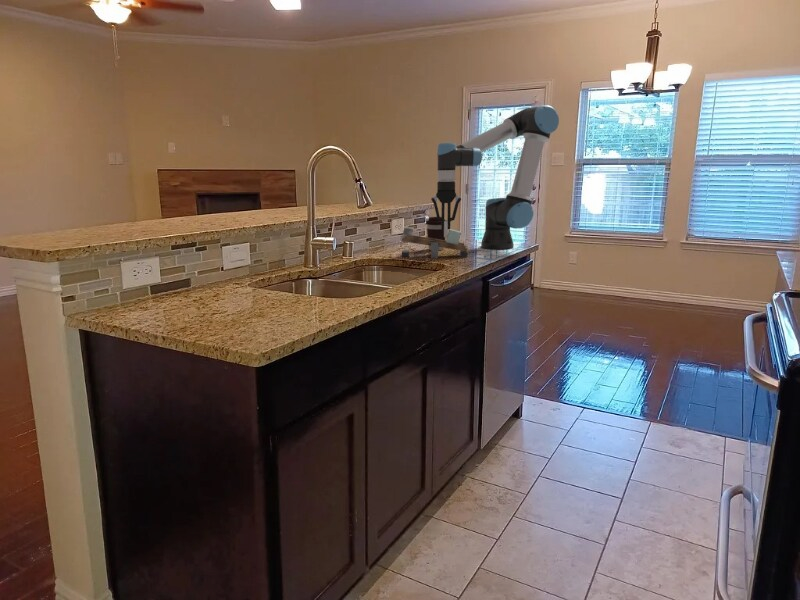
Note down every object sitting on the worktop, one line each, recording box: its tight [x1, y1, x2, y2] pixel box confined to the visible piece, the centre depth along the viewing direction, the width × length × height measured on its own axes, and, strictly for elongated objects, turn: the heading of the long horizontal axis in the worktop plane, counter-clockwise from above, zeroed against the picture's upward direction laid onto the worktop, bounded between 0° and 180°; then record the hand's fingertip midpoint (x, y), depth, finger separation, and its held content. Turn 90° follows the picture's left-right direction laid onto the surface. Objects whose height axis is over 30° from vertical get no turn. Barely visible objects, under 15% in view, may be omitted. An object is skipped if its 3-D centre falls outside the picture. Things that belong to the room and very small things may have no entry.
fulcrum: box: [401, 242, 468, 259], centre depth 242 cm, size 28×12×7 cm, turn 87°
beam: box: [401, 226, 468, 252], centre depth 241 cm, size 28×9×6 cm, turn 87°
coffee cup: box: [425, 216, 447, 251], centre depth 261 cm, size 10×10×15 cm
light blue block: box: [445, 228, 462, 244], centre depth 241 cm, size 5×5×6 cm
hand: (445, 236), depth 241 cm, fingers closed
